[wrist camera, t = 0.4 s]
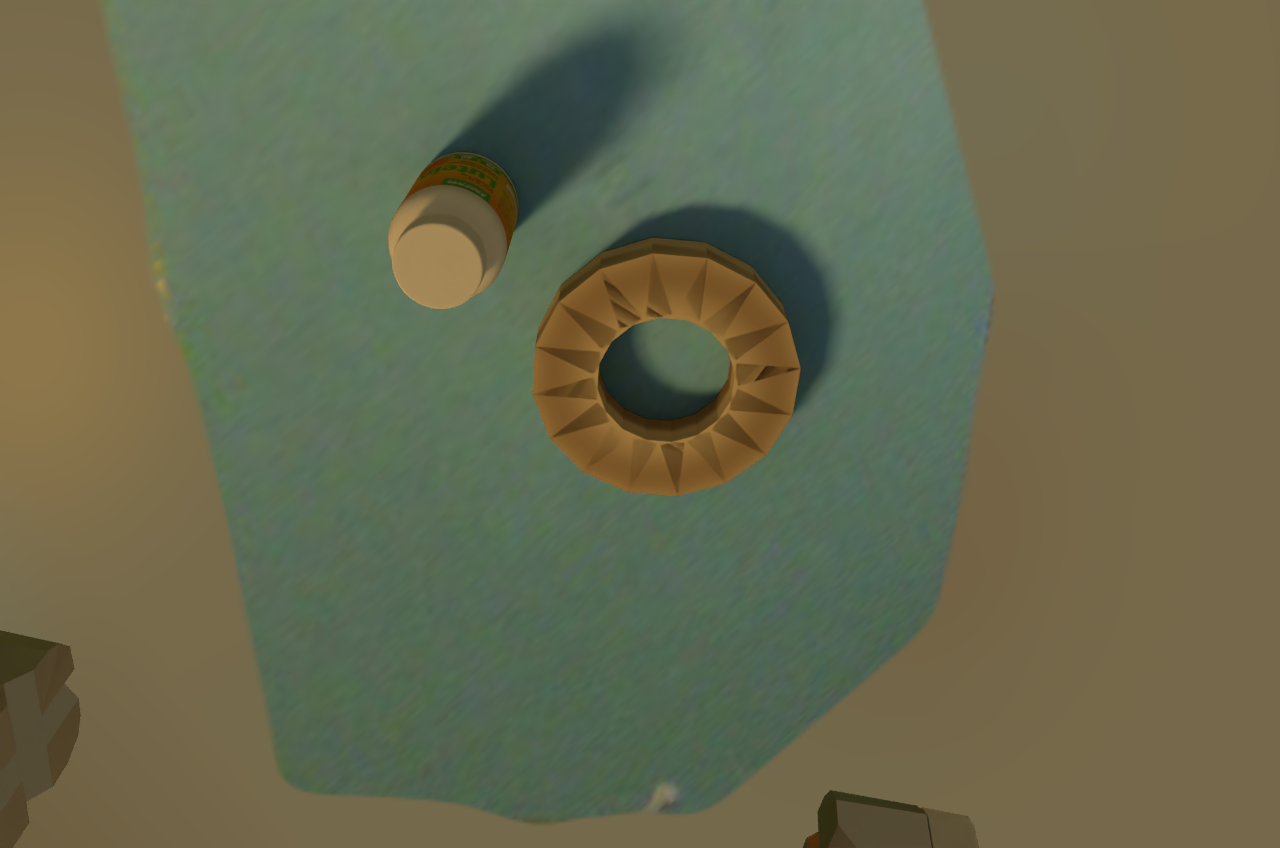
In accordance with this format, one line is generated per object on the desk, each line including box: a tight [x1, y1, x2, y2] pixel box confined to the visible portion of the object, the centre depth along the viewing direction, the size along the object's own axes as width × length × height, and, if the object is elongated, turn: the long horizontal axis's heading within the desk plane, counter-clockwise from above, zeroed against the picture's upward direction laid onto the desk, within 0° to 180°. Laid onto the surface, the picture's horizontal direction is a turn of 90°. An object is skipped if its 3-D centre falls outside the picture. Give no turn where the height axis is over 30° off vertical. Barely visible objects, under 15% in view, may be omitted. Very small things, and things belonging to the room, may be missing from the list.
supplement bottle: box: [388, 152, 519, 309], centre depth 52 cm, size 5×5×10 cm
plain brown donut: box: [533, 238, 801, 496], centre depth 60 cm, size 14×14×2 cm
